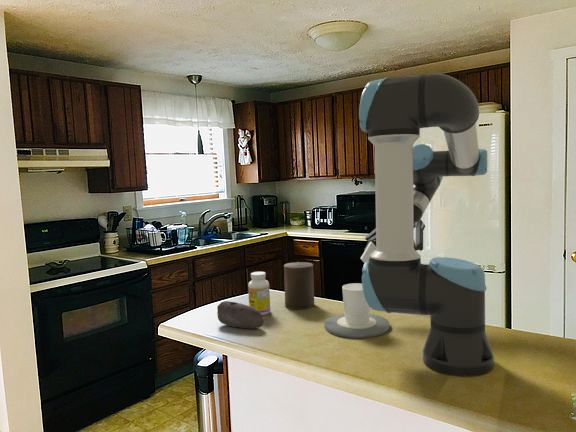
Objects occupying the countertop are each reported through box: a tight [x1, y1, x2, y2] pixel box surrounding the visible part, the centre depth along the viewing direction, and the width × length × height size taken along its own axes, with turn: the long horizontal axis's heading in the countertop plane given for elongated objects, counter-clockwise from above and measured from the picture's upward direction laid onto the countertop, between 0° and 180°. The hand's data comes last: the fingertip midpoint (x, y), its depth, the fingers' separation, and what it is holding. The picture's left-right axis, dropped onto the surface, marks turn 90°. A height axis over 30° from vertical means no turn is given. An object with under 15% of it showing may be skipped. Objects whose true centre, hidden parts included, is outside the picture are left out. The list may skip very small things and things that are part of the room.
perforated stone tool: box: [216, 300, 264, 330], centre depth 138 cm, size 15×5×7 cm, turn 58°
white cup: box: [341, 282, 371, 325], centre depth 134 cm, size 8×8×10 cm
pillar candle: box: [283, 260, 315, 310], centre depth 157 cm, size 10×10×15 cm
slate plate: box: [324, 312, 390, 339], centre depth 134 cm, size 18×18×2 cm
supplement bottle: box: [247, 271, 271, 316], centre depth 150 cm, size 7×7×13 cm
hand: (380, 264), depth 139 cm, fingers open, 13 cm apart
